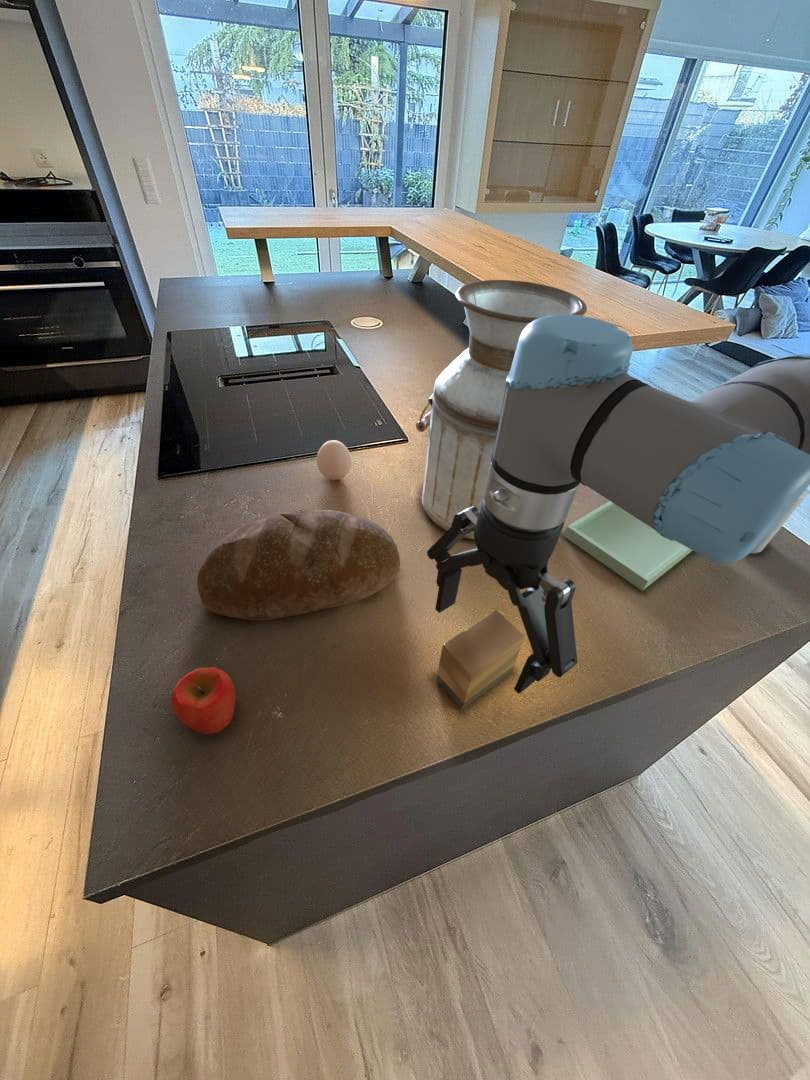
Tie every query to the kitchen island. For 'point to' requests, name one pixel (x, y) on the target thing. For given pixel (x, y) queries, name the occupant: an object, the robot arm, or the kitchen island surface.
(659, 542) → the tray
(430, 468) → the white milk churn
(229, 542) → the bread
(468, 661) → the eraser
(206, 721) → the apple
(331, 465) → the egg
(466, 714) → the kitchen island surface
